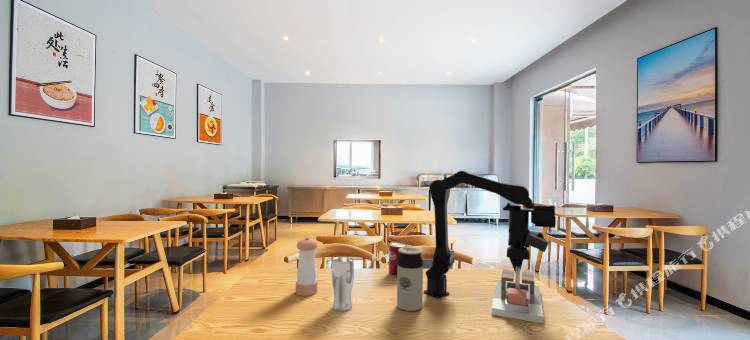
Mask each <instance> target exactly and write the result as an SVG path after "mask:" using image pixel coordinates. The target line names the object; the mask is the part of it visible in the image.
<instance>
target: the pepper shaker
mask: <svg viewBox="0 0 750 340" xmlns="http://www.w3.org/2000/svg"><path fill="white" fill-rule="evenodd" d="M296 248H297V250H298V266H297V272H296V276H297V277H296V283H295V294H296V295H298V296H303V297H304V296H305V297H307V296H309V297H310V296H313V295H315V294H317V293H318V281H317V266H316V249H317V248H318V242H317V240H316V239H313V238H310V237H309V236H305V237H304V238H302V239H301V240H299V241H298V242H297V243H296Z"/></svg>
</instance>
